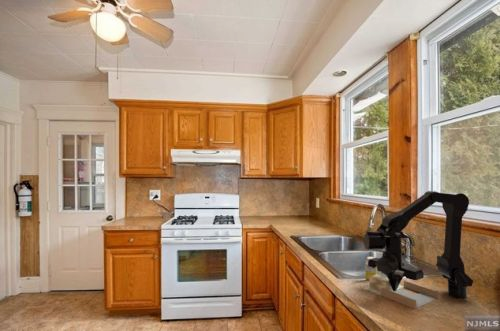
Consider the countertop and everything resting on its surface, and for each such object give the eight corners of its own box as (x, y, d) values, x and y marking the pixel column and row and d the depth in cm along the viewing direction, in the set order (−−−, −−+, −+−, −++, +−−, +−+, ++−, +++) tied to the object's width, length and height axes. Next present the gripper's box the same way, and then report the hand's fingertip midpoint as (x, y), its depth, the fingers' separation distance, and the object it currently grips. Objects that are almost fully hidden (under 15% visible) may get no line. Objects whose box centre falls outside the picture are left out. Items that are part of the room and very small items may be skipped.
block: (369, 287, 108) (369, 276, 108) (376, 284, 111) (376, 274, 111) (386, 293, 102) (385, 282, 102) (393, 290, 105) (393, 279, 105)
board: (438, 301, 98) (438, 290, 98) (415, 313, 90) (414, 301, 90) (386, 283, 115) (386, 274, 115) (362, 291, 107) (362, 281, 107)
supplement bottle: (374, 279, 120) (374, 255, 121) (382, 283, 115) (381, 259, 115) (363, 279, 120) (362, 256, 120) (369, 284, 114) (369, 260, 115)
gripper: (358, 247, 106) (359, 287, 106) (406, 258, 90) (408, 306, 90) (375, 243, 112) (376, 281, 111) (423, 253, 96) (425, 298, 95)
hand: (394, 291), depth 102 cm, fingers closed
